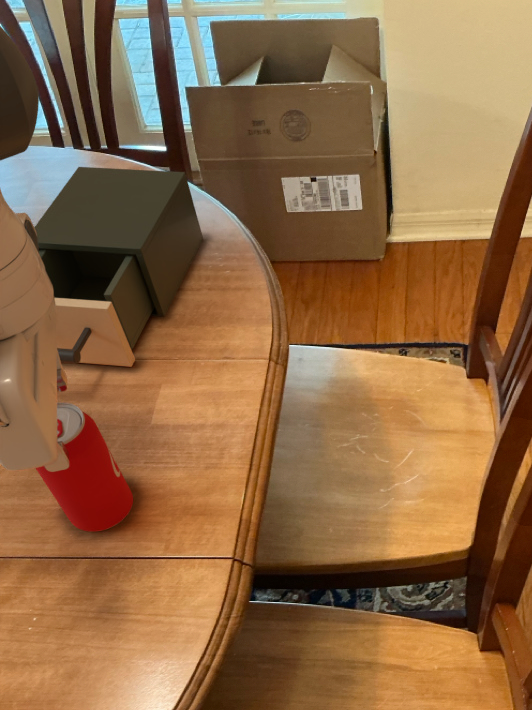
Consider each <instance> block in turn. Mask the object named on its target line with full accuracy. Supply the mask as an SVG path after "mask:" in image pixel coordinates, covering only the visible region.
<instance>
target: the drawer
mask: <svg viewBox="0 0 532 710" xmlns="http://www.w3.org/2000/svg"><path fill="white" fill-rule="evenodd" d="M39 254H40V257H41V259H42V261H43V264H44V266H45V271H46V273H47V275H48V277H49V279H50V281H51V283H52V286H53V292H54V294H53V295H54V298H55V303H56V347H57V350H58V354H59V358H60V361H61V363H66V364H75V365H77V364H79V363H81V364H93V365H107V366H117V367H118V366H119V367H130V368H132V367H133V365H134V363H135V361H136V358H135V356H134V354H133V349H134V347H135V346H136V343H137V342H138V340H139V337H140V336H141V334H142V332H143V330H144V328H145V326H146V324H147V323H148V320H149V319H150V317H151V313H152V311H153V309H154V307H155V306H154V303H153V300H152V298H151V295H150V292H149V289H148V286H147V284H146V281H145V278H144V275H143V272H142V270H141V267H140V264H139V261H138V258H137V256H136V255H134V254H119V253H103V252H87V251H72V250H56V249H40V250H39Z"/></svg>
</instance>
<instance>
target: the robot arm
mask: <svg viewBox="0 0 532 710" xmlns="http://www.w3.org/2000/svg"><path fill="white" fill-rule="evenodd" d="M26 59H27V58H25V56H24V54H23V53H22V52H21V49H20V48H19V47H18V46H17V44H16V43H15V41H14V40H13V39H12V38H11V36H10V35H9V33H7V31H6V30H5V29H4V28H3V27H2V26H1V25H0V162H2V161H3V160H6V159H8V158H12V157H14V156H17V155H20V154H22V153H25V152H26V151H27V150H28V149H29V146H30V144H31V141H32V138H33V136H34V133H35V130H36V126H37V120H38V115H39V106H40V105H39V101H40V95H39V87H38V83H37V81H36V78H35V76H34V73H33V70H32V69H31V67H30V65H29V62H28V61H27V60H26ZM33 223H34V222H33V221H32V219H31V218H30V216H29V214H28V213H27V212H15V211H14V210H13V209H12V208H11V207H10V205H9V203H7V201H6V199H5V197H4V195H3V192H2V189H1V188H0V465H1V466H2V467H3V468H4V469H6V470H8V471H11V472H23V471H28V470H33V469H36V468H38V467H42V466H45V468H46V470H48V471H50V472H55V471H60V470H65V469H67V468H68V467H69V452H68V450H66V447H65V445H64V443H63V441H59V442H57V403H58V392H60V393H62V392H65V391H67V390H68V375H67V372H66V371H65V370H64V367H63V365H62V362H61V361H60V358H59V354H58V350H57V347H56V303H55V298H54V295H53V294H54V292H53V286H52V283H51V281H50V279H49V277H48V275H47V273H46V271H45V266H44V264H43V261H42V259H41V257H40V254H39V248H38V239H37V233H36V230H35V228H34V227H35V225H34V224H33Z"/></svg>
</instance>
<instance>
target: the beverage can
mask: <svg viewBox="0 0 532 710" xmlns="http://www.w3.org/2000/svg"><path fill="white" fill-rule="evenodd" d="M59 441H63V443H64V445H65V447H66V450H68V452H69V467H68V468H67V469H65V470H60V471H55V472H50V471H48V470H46V468H45V466H42V467H38V468H35V470H36V472H37V473H38V474H39V476H40V477H41V479H42V481H43V482H44V484H45V485H46V487H47V489H48V490H49V491H50V493H51V495H52V496H53V498H54V499H55V501H56V502H57V503H58V505H59V506H60V508H61V509H62V511H63V512H64V514H65V516H66V518H67V519H68V520H69V522H70V523H71V524H72V525H73V526H74V527H75V528H76V529H79V530H81V531H84V532H91V533H93V532H101V531H105V530H108V529H111V528H113V527H116V525H118V524H120V523H121V522H122V521H123V520H124V519H125V518H126V517H127V516H128V515H129V513H130V512H131V510H132V508H133V505H134V495H133V492H132V491H131V488H130V487H129V484H128V483H127V481H126V479H125V477H124V475H123V473H122V471H121V469H120V467H119V466H118V463H117V461H116V460H115V457H114V455H113V453H112V452H111V450H110V448H109V446H108V444H107V442H106V440H105V439H104V437H103V435H102V432H101V431H100V429H99V427H98V425H97V423H96V422H95V420H94V419H93V418H92V417H91V416H90V415H89V414H88V413H86V412H84V411H83V410H82V409H81V408H80V407H78V406H77V405H76V404H74V403H70V402H62V401H61V402H57V442H59Z"/></svg>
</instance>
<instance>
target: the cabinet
mask: <svg viewBox="0 0 532 710" xmlns="http://www.w3.org/2000/svg"><path fill="white" fill-rule="evenodd" d="M189 185H190V184H189V181H188V179H187V174H186V172H185V171H171V170H169V171H167V170H149V169H133V168H132V169H130V168H127V169H126V168H112V167H109V168H108V167H92V166H91V167H90V166H78V167H77V168H76V170H75V171H74V172H73V174H72V175H71V176H70V177H69V179H68V180H67V182H66V183H65V185H63V187H62V189H61V190H60V192H59V193H57V196H56V197H55V198H54V200H53V201H52V203H51V204H50V205H49V206H48V207H47V210H46V211H45V212H44V213H43V214H42V216H41V217H40V219H39V220H38V222H37V223H36V224H35V225H34V228H35V230H36V233H37V239H38V248H39V250H40V249H56V250H72V251H87V252H103V253H119V254H134V255H136V256H137V258H138V261H139V264H140V267H141V270H142V272H143V275H144V278H145V281H146V284H147V286H148V289H149V292H150V295H151V298H152V300H153V303H154V306H155V307H154V309H153V311H152V313H151V315H150V317H151V316H153V317H165V316H166V314H167V312H168V310H169V308H170V306H171V304H172V302H173V300H174V298H175V296H176V295H177V292H178V290H179V289H180V286H181V285H182V283H183V281H184V279H185V276H186V275H187V272H188V271H189V269H190V266H191V265H192V263H193V261H194V258H195V257H196V255H197V253H198V250H199V249H200V247H201V245H202V243H203V241H204V237H203V233H202V229H201V226H200V222H199V218H198V215H197V211H196V207H195V203H194V200H193V196H192V192H191V188H190V186H189Z"/></svg>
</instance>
